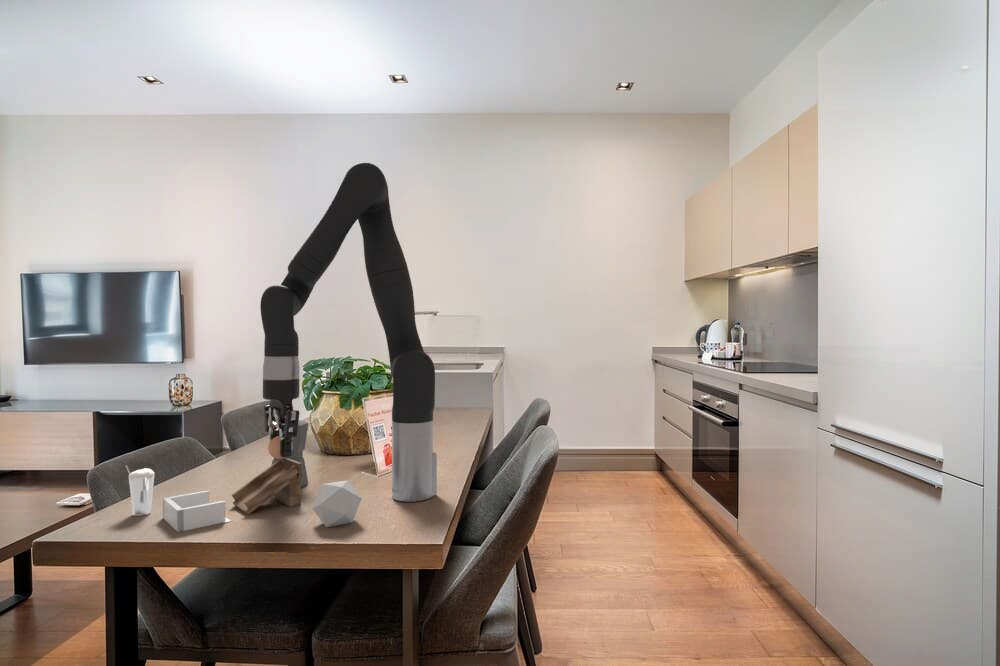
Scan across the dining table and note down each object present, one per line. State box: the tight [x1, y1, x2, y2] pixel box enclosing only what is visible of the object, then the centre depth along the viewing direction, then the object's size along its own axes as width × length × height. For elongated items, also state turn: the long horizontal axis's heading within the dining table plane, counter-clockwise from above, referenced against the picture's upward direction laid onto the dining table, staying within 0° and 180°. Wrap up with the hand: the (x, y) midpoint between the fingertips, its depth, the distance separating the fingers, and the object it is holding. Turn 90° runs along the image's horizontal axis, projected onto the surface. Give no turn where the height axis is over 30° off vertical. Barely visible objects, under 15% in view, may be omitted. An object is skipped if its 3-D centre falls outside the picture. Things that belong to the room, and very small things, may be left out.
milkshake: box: [125, 465, 155, 517], centre depth 118 cm, size 4×5×10 cm
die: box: [312, 480, 362, 528], centre depth 112 cm, size 8×9×10 cm
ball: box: [267, 436, 293, 459], centre depth 125 cm, size 5×5×5 cm
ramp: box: [231, 457, 302, 516], centre depth 123 cm, size 12×8×9 cm
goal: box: [162, 490, 227, 533], centre depth 114 cm, size 8×11×4 cm
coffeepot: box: [269, 419, 309, 488], centre depth 141 cm, size 15×9×18 cm, turn 12°
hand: (280, 454), depth 125 cm, fingers closed on ball, 5 cm apart
